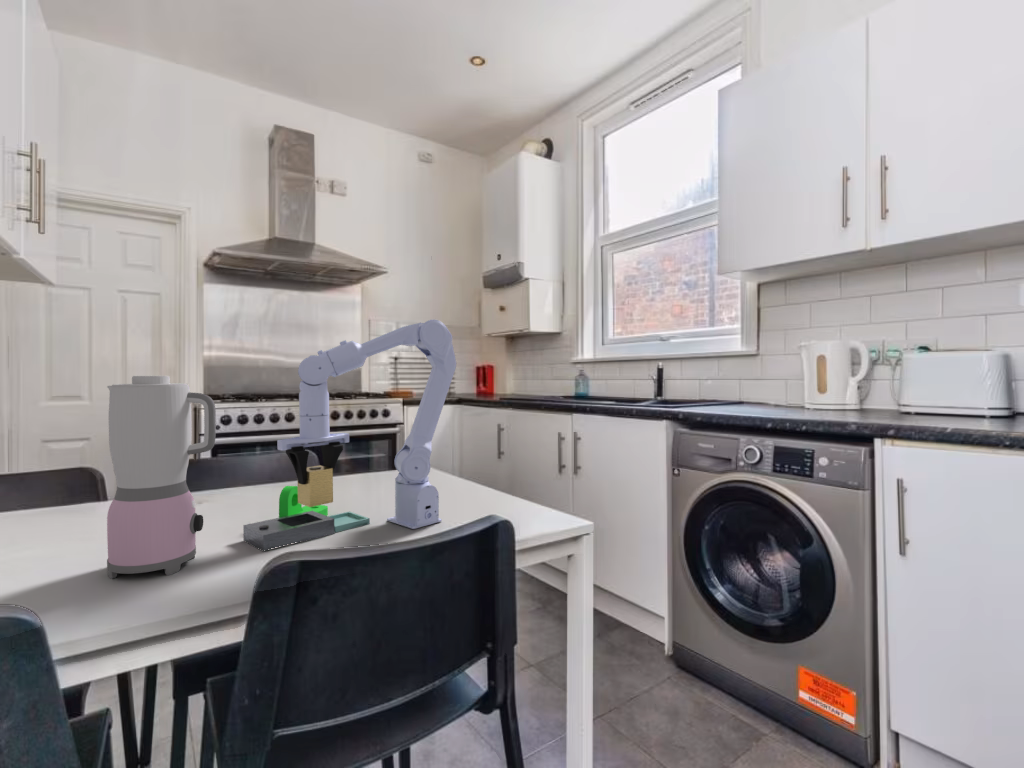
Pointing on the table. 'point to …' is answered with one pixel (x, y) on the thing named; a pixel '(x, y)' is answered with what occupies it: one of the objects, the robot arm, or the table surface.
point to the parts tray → (348, 521)
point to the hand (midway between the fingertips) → (315, 481)
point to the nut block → (316, 487)
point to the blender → (153, 474)
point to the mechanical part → (295, 503)
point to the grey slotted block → (288, 530)
